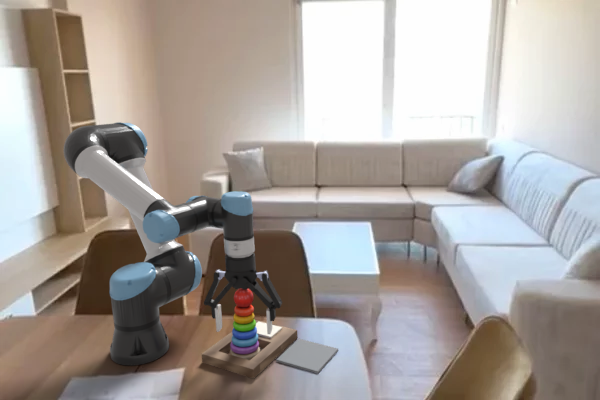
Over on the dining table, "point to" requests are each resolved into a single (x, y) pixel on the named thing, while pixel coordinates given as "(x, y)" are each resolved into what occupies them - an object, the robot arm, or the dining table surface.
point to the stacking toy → (244, 327)
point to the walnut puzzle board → (251, 368)
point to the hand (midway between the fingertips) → (244, 330)
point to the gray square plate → (307, 355)
